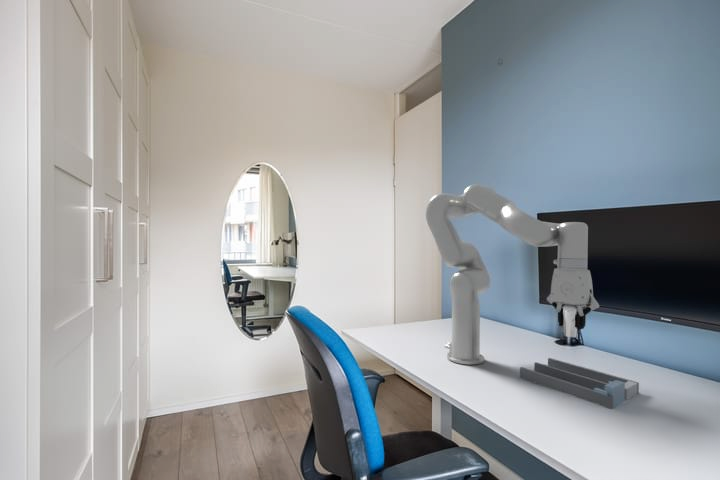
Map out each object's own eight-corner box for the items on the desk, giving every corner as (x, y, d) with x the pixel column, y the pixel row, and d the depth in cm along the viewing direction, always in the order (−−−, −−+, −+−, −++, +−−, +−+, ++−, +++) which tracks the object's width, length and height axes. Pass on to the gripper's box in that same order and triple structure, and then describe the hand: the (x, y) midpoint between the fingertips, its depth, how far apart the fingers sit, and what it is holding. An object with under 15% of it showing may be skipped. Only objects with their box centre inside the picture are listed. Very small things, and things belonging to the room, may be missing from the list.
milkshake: (584, 339, 104) (586, 304, 104) (564, 337, 105) (566, 303, 105) (578, 334, 109) (579, 301, 108) (558, 333, 110) (560, 299, 109)
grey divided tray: (519, 377, 113) (519, 361, 113) (549, 366, 122) (549, 351, 122) (611, 408, 92) (611, 389, 92) (638, 393, 102) (638, 375, 102)
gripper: (537, 263, 111) (536, 323, 112) (598, 267, 98) (597, 335, 98) (549, 262, 116) (548, 320, 116) (610, 266, 102) (609, 331, 102)
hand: (571, 326), depth 107 cm, fingers closed on milkshake, 4 cm apart
